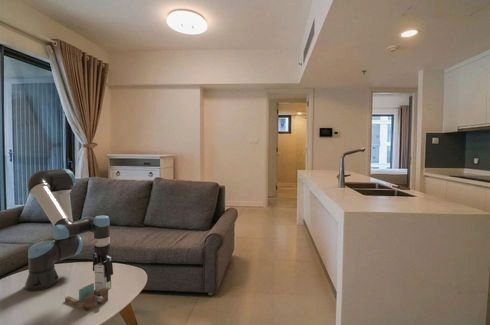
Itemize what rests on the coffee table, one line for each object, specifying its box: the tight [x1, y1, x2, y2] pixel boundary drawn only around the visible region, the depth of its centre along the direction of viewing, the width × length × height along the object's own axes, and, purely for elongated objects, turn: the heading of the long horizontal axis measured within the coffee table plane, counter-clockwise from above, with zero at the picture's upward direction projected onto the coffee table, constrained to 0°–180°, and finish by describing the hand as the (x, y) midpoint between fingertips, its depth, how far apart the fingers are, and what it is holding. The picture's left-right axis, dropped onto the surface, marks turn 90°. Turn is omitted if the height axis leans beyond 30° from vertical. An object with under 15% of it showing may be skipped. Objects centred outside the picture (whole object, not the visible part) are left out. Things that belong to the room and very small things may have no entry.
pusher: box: [78, 282, 103, 303], centre depth 134 cm, size 13×7×7 cm, turn 62°
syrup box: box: [93, 261, 112, 292], centre depth 148 cm, size 6×6×14 cm
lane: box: [64, 288, 109, 312], centre depth 137 cm, size 18×11×6 cm, turn 62°
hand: (103, 285), depth 148 cm, fingers closed on syrup box, 7 cm apart
